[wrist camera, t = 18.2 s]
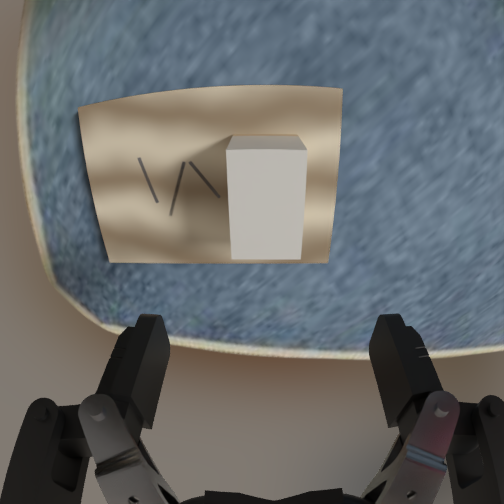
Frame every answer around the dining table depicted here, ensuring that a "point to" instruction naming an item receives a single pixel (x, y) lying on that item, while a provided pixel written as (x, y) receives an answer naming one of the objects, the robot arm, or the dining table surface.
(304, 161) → the block
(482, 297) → the dining table surface
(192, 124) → the birch board
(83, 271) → the dining table surface
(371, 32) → the dining table surface
